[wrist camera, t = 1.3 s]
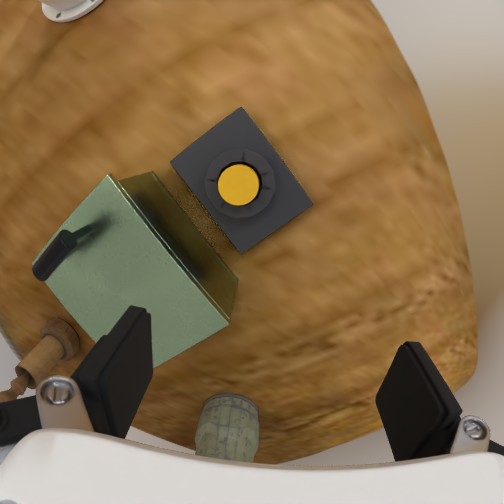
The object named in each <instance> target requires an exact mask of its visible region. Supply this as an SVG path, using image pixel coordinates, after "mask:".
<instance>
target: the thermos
mask: <svg viewBox="0 0 504 504" xmlns="http://www.w3.org/2000/svg"><path fill="white" fill-rule="evenodd" d="M258 441H259V422H258V408H257V407H256V405H255V404H254V403H253V402H252V401H251V400H249V399H247V398H245V397H243V396H240V395H236V394H219V395H215V396H213V397H210V398H209V399H208V400H207V401H206V402H205V403H204V406H203V409H202V414H201V415H200V418H199V422H198V426H197V431H196V435H195V444H196V448H197V449H196V453H195V455H199V456H205V457H211V458H217V459H224V460H232V461H240V462H249V463H254V455H255V453H256V451H257V449H258Z"/></svg>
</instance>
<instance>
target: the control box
mask: <svg viewBox="0 0 504 504" xmlns="http://www.w3.org/2000/svg"><path fill="white" fill-rule="evenodd" d="M170 163H171V165H172V166H173V167H174V169H175V170H176V171H177V172H178V174H179V175H180V176H181V178H182V179H183V180H184V182H185V183H186V184H187V185H188V187H189V188H190V189H191V191H192V192H193V193H194V194H195V196H196V197H197V198H198V200H199V201H200V202H201V203H202V205H203V206H204V207H205V209H206V210H207V211H208V212H209V214H210V215H211V216H212V218H213V219H214V220H215V221H216V223H217V224H218V225H219V227H220V228H221V229H222V230H223V232H224V233H225V234H226V236H227V237H228V238H229V239H230V241H231V242H232V243H233V245H234V246H235V247H236V248H237V250H238V251H239V252H240V253H241V254H242V253H244V252H245V251H246V250H248V249H249V248H251V247H252V246H254V245H255V244H257V243H258V242H260V241H261V240H262V239H264V238H265V237H267V236H268V235H270V234H271V233H273V232H274V231H276V230H277V229H278V228H280V227H281V226H283V225H284V224H286V223H287V222H289V221H290V220H291V219H293V218H294V217H296V216H297V215H299V214H300V213H302V212H303V211H305V210H306V209H308V208H309V207H310V206H312V205H313V203H312V202H311V200H310V199H309V197H308V196H307V194H306V193H305V191H304V190H303V189H302V187H301V186H300V184H299V183H298V181H297V180H296V179H295V177H294V176H293V174H292V173H291V172H290V170H289V169H288V167H287V166H286V165H285V163H284V162H283V161H282V159H281V158H280V156H279V155H278V154H277V152H276V151H275V150H274V148H273V147H272V146H271V144H270V143H269V142H268V140H267V139H266V138H265V136H264V135H263V134H262V132H261V131H260V130H259V128H258V127H257V126H256V125H255V123H254V122H253V121H252V119H251V118H250V117H249V116H248V114H247V113H246V112H245V110H244V109H243V108H242V107H240V108H238V109H237V110H236V111H234V112H233V113H232V114H230V115H229V116H227V117H226V118H225V119H223V120H222V121H221V122H219V123H218V124H217V125H215V126H214V127H213V128H211V129H210V130H209V131H208V132H206V133H205V134H204V135H202V136H201V137H200V138H199V139H197V140H196V141H195V142H194V143H192V144H191V145H190V146H189V147H187V148H186V149H185V150H184V151H182V152H181V153H180V154H179V155H178V156H176V157H175V158H174V159H173V160H172V161H170ZM237 164H242V165H246V166H249V167H250V168H252V169H253V170H254V171H255V172H256V174H257V176H258V179H259V188H258V192H257V195H256V196H255V198H254V199H253V200H252V201H251V202H249V203H247V204H245V205H239V206H238V205H232V204H230V203H228V202H226V201H225V200H224V199H223V198H222V197H221V195H220V193H219V190H218V181H219V178H220V176H221V174H222V173H223V172H224V171H225V170H226V169H227V168H229V167H231V166H233V165H237Z"/></svg>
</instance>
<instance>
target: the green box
mask: <svg viewBox="0 0 504 504" xmlns="http://www.w3.org/2000/svg"><path fill="white" fill-rule="evenodd" d="M118 183H119V184H120V185H121V187H122V188H123V189H124V191H125V192H126V193H127V195H128V196H129V197H130V199H131V200H132V201H133V203H134V204H135V205H136V206H137V208H138V209H139V210H140V212H141V213H142V214H143V216H144V217H145V218H146V219H147V221H148V222H149V223H150V225H151V226H152V227H153V228H154V230H155V231H156V232H157V233H158V235H159V236H160V237H161V238H162V240H163V241H164V242H165V243H166V245H167V246H168V247H169V248H170V250H171V251H172V252H173V253H174V255H175V256H176V257H177V258H178V259H179V261H180V262H181V263H182V264H183V265H184V267H185V268H186V269H187V270H188V272H189V273H190V274H191V275H192V276H193V278H194V279H195V280H196V281H197V282H198V283H199V285H200V286H201V287H202V288H203V289H204V291H205V292H206V293H207V294H208V295H209V296H210V298H211V299H212V300H213V301H214V302H215V303H216V304H217V306H218V307H219V308H220V309H221V310H222V311H223V313H224V314H225V315H226V316H227V317H228V318H229V319H230V318H231V313H232V308H233V303H234V298H235V293H236V288H237V284H238V279H237V277H236V276H235V275H234V274H233V273H232V271H231V270H230V269H229V268H228V266H227V265H226V264H225V263H224V261H223V260H222V259H221V258H220V256H219V255H218V254H217V253H216V251H215V250H214V249H213V248H212V246H211V245H210V244H209V243H208V241H207V240H206V239H205V238H204V236H203V235H202V234H201V233H200V231H199V230H198V229H197V227H196V226H195V225H194V224H193V222H192V221H191V220H190V219H189V217H188V216H187V215H186V213H185V212H184V211H183V210H182V208H181V207H180V206H179V205H178V203H177V202H176V201H175V199H174V198H173V197H172V196H171V194H170V193H169V192H168V190H167V189H166V188H165V186H164V185H163V184H162V183H161V181H160V180H159V179H158V177H157V176H156V175H155V173H154V172H153V171H152V172H148V173H145V174H141V175H137V176H133V177H130V178H126V179H122V180H119V181H118Z"/></svg>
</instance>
